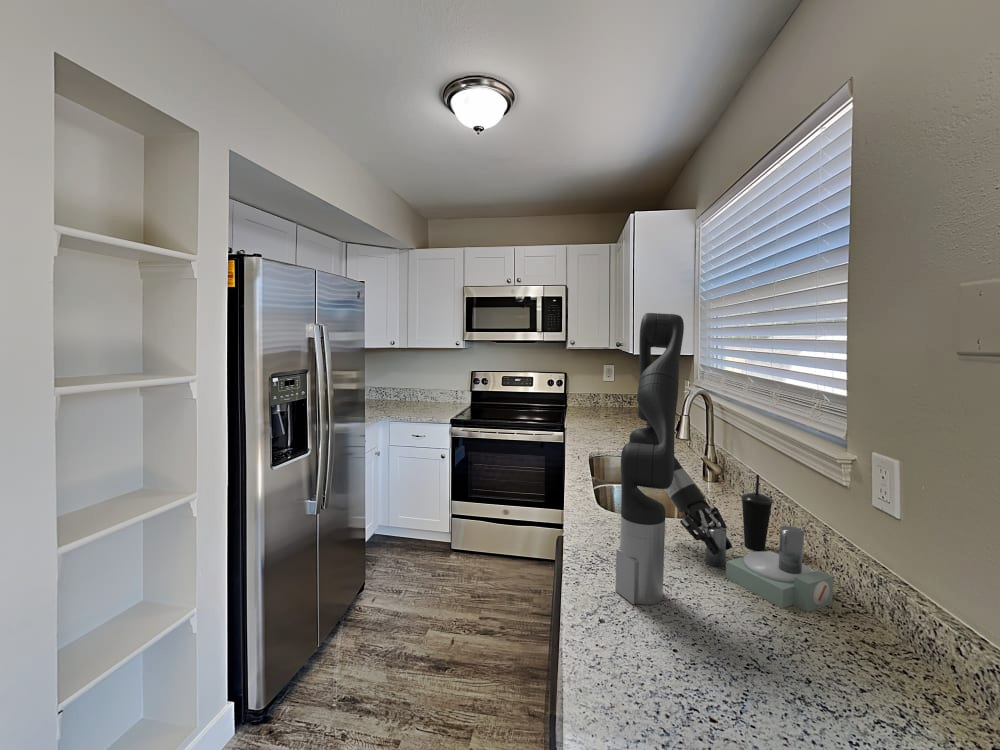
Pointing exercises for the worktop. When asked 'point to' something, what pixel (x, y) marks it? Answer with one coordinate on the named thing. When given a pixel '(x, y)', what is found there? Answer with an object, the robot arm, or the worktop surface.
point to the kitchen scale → (781, 581)
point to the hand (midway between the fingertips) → (723, 550)
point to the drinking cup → (756, 518)
